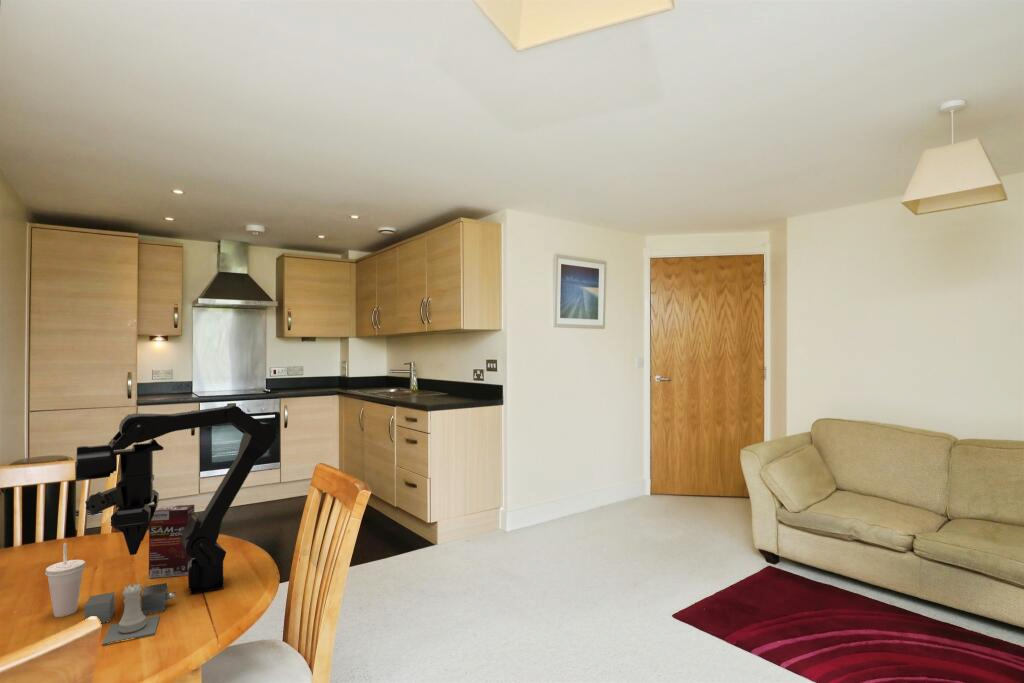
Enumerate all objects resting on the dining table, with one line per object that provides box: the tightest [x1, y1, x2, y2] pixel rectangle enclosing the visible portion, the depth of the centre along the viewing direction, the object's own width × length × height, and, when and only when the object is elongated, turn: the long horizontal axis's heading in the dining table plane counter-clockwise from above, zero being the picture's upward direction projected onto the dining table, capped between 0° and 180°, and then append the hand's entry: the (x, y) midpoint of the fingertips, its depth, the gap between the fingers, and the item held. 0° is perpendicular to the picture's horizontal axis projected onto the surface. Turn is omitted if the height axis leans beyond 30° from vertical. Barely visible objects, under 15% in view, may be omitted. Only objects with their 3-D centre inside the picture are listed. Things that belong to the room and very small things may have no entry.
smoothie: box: [44, 542, 86, 618], centre depth 112 cm, size 6×6×14 cm
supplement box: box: [148, 504, 195, 579], centre depth 132 cm, size 9×5×16 cm, turn 101°
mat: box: [101, 614, 161, 647], centre depth 104 cm, size 8×8×1 cm
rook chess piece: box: [118, 583, 147, 634], centre depth 104 cm, size 4×4×8 cm
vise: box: [84, 582, 176, 624], centre depth 112 cm, size 15×5×4 cm, turn 117°
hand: (136, 547), depth 115 cm, fingers open, 9 cm apart
